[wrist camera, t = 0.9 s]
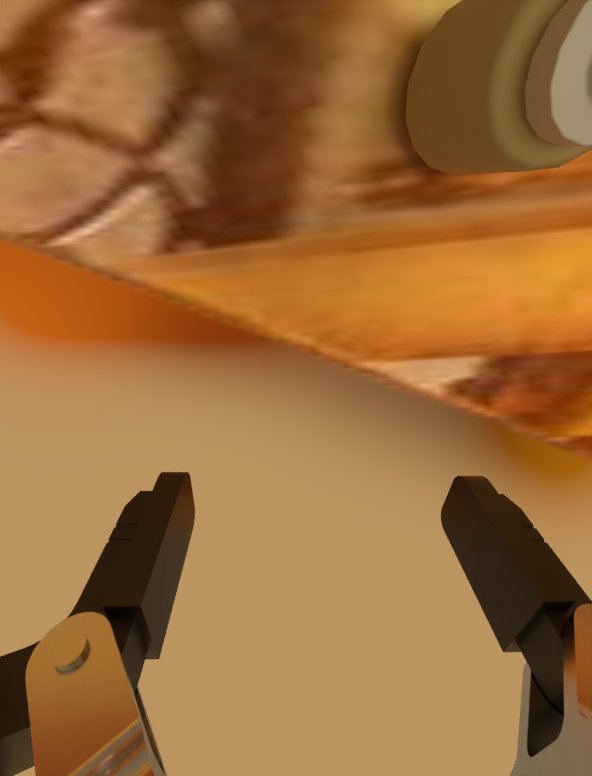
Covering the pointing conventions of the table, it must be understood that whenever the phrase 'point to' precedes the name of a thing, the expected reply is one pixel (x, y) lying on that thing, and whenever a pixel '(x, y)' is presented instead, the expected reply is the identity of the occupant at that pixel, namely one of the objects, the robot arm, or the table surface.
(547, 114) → the squeeze bottle
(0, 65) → the table surface
